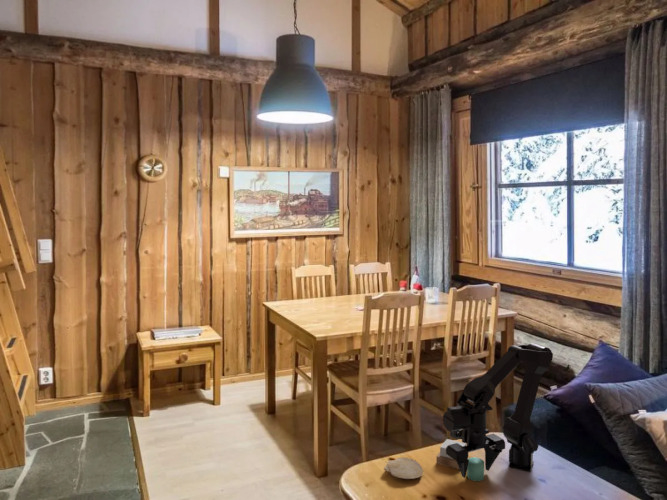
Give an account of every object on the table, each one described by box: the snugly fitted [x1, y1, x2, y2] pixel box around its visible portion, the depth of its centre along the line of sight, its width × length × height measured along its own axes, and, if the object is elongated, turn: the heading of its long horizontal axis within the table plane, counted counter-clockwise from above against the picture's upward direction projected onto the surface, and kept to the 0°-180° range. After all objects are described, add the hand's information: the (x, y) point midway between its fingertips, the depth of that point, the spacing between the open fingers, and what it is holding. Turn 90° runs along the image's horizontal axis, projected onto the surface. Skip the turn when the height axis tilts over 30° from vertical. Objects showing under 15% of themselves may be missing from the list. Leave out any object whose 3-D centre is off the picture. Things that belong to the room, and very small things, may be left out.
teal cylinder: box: [466, 457, 485, 482], centre depth 164 cm, size 5×5×5 cm
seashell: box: [383, 456, 424, 480], centre depth 166 cm, size 12×12×3 cm
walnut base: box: [436, 451, 469, 470], centre depth 174 cm, size 8×8×3 cm
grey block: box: [439, 438, 467, 459], centre depth 173 cm, size 6×6×3 cm
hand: (475, 473), depth 164 cm, fingers open, 9 cm apart
